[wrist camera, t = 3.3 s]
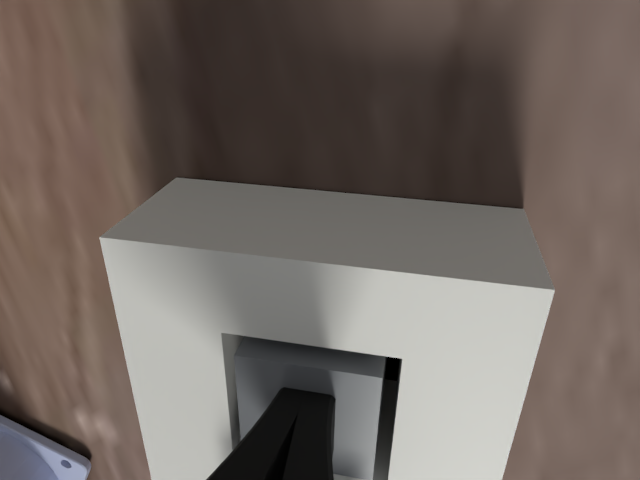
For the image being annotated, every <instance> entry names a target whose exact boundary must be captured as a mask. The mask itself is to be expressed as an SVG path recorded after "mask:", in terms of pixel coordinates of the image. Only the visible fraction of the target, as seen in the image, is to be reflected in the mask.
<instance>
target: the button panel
mask: <svg viewBox="0 0 640 480" xmlns="http://www.w3.org/2000/svg"><path fill="white" fill-rule="evenodd" d="M99 238H100V242H101V247H102V252H103V256H104V261H105V266H106V270H107V275H108V279H109V284H110V289H111V293H112V298H113V303H114V307H115V312H116V317H117V321H118V326H119V330H120V335H121V340H122V344H123V349H124V354H125V358H126V363H127V368H128V372H129V377H130V381H131V386H132V391H133V395H134V400H135V405H136V409H137V414H138V418H139V423H140V428H141V432H142V437H143V442H144V446H145V451H146V456H147V460H148V465H149V469H150V474H151V479H152V480H206V479H207V478H208V477H209V476H210V475H211V474H212V473H213V472H214V471H215V469H216V468H217V467H218V466H219V465H220V464H221V463H222V462H223V461H224V460H225V459H226V458H227V457H228V456H229V454H230V453H231V452H232V451H233V450H234V449H235V447H236V446H237V445H238V444H239V443H240V441H241V435H240V423H239V411H238V399H237V388H236V376H235V364H234V354H235V352H236V350H237V348H238V347H239V345H240V343H241V341H242V339H243V337H244V336H248V337H255V338H262V339H269V340H276V341H282V342H289V343H296V344H303V345H310V346H317V347H324V348H331V349H338V350H345V351H352V352H359V353H365V354H372V355H379V356H386V357H393V358H400V360H399V368H398V377H397V381H394V380H388V379H385V384H384V392H383V401H382V409H381V417H380V425H379V433H378V441H377V450H376V458H375V466H374V474H373V480H502V477H503V474H504V470H505V466H506V463H507V459H508V456H509V452H510V449H511V445H512V441H513V438H514V434H515V431H516V427H517V424H518V420H519V416H520V413H521V409H522V406H523V402H524V399H525V395H526V391H527V388H528V384H529V381H530V377H531V374H532V370H533V366H534V363H535V359H536V356H537V352H538V349H539V345H540V341H541V338H542V334H543V331H544V327H545V324H546V320H547V316H548V313H549V309H550V306H551V302H552V299H553V295H554V292H555V289H554V286H553V284H552V281H551V279H550V276H549V273H548V271H547V268H546V265H545V263H544V260H543V258H542V255H541V252H540V250H539V247H538V245H537V242H536V239H535V237H534V234H533V232H532V229H531V226H530V224H529V221H528V219H527V216H526V213H525V211H524V209H518V208H507V207H496V206H485V205H474V204H463V203H452V202H441V201H430V200H419V199H408V198H397V197H386V196H375V195H364V194H353V193H342V192H331V191H320V190H309V189H298V188H287V187H276V186H265V185H254V184H243V183H232V182H221V181H210V180H199V179H188V178H177V177H176V178H175V179H174V180H172V181H171V182H170V183H169V184H167V185H166V186H165V187H163V188H162V189H161V190H160V191H158V192H157V193H156V194H154V195H153V196H152V197H151V198H149V199H148V200H147V201H145V202H144V203H143V204H142V205H140V206H139V207H138V208H136V209H135V210H134V211H133V212H131V213H130V214H129V215H127V216H126V217H125V218H124V219H122V220H121V221H120V222H118V223H117V224H116V225H115V226H113V227H112V228H111V229H109V230H108V231H107V232H106V233H104V234H103V235H102V236H100V237H99ZM333 477H334V480H364V479H358V478H353V477H348V476H342V475H337V474H333Z"/></svg>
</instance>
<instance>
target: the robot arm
mask: <svg viewBox="0 0 640 480" xmlns="http://www.w3.org/2000/svg"><path fill="white" fill-rule="evenodd" d="M335 404H336V399H335V398H334V397H333V396H332V395H329V394H323V393H317V392H311V391H304V390H298V389H292V388H286V387H283V388H282V389H280V390H279V392H278V393H277V395H276V396H275V398H274V399H273V400H272V402H271V403H270V405H269V406H268V407H267V409H266V410H265V411H264V413H263V414H262V415H261V417H260V418H259V419H258V421H257V422H256V423H255V424H254V426H253V427H252V428H251V430H250V431H249V432H248V433H247V434H246V435H245V437H244V438H243V439H242V440H241V441H240V443H239V444H238V445H237V446H236V447H235V449H234V450H233V451H232V452H231V453H230V454H229V456H228V457H227V458H226V459H225V460H224V461H223V462H222V463H221V464H220V465H219V466H218V467H217V468H216V469H215V471H214V472H213V473H212V474H211V475H210V476H209V477H208V478H207V479H206V480H334V477H333V464H332V458H333V451H334V428H335ZM90 469H91V463H90V461H89V460H88V459H87V458H85V457H84V456H82V455H80V454H78V453H76V452H74V451H72V450H70V449H68V448H66V447H64V446H62V445H60V444H58V443H56V442H54V441H52V440H50V439H48V438H46V437H44V436H42V435H40V434H38V433H36V432H34V431H32V430H30V429H28V428H26V427H24V426H22V425H20V424H18V423H16V422H14V421H12V420H10V419H8V418H6V417H4V416H2V415H0V480H87V477H88V474H89V472H90Z"/></svg>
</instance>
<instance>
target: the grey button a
mask: <svg viewBox="0 0 640 480" xmlns="http://www.w3.org/2000/svg"><path fill="white" fill-rule="evenodd" d="M234 364H235V376H236V388H237V399H238V411H239V423H240V435H241V440H242V439H243V438H244V437H245V435H246V434H247V433H248V432H249V431H250V430H251V428H252V427H253V426H254V424H255V423H256V422H257V421H258V419H259V418H260V417H261V415H262V414H263V413H264V411H265V410H266V409H267V407H268V406H269V405H270V403H271V402H272V400H273V399H274V398H275V396H276V395H277V393H278V392H279V390H280V389H282V388H283V387H286V388H292V389H298V390H304V391H311V392H317V393H323V394H329V395H332V396H333V397H334V398H335V399H336V404H335V428H334V451H333V458H332V464H333V474H337V475H342V476H348V477H353V478H358V479H364V480H373V474H374V466H375V458H376V450H377V441H378V433H379V425H380V417H381V409H382V401H383V392H384V384H385V376H386V366H387V357H386V356H379V355H372V354H365V353H359V352H352V351H345V350H338V349H331V348H324V347H317V346H310V345H303V344H296V343H289V342H282V341H276V340H269V339H262V338H255V337H248V336H244V337H243V339H242V341H241V343H240V345H239V347H238V348H237V350H236V352H235V354H234Z"/></svg>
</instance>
